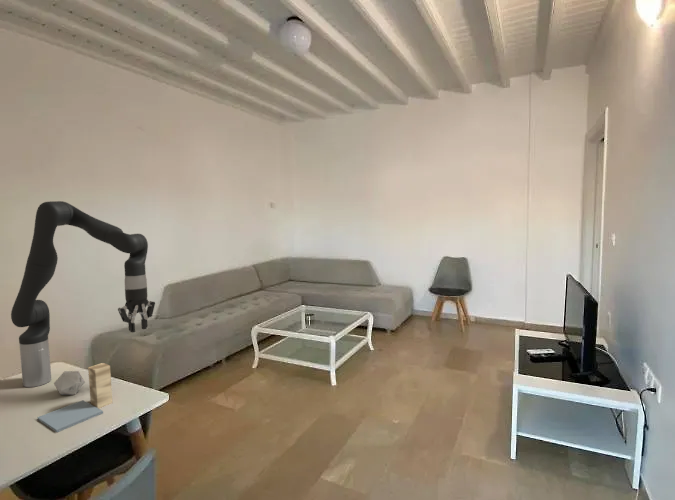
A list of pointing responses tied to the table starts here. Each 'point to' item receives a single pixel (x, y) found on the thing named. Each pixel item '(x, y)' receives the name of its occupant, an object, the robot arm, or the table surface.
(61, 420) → the mat
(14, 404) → the table surface
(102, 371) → the beech block
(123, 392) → the table surface
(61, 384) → the die
